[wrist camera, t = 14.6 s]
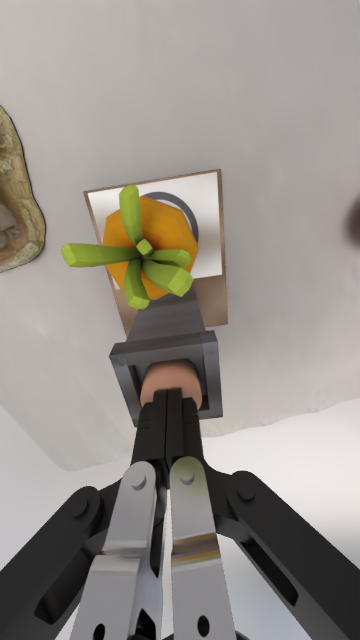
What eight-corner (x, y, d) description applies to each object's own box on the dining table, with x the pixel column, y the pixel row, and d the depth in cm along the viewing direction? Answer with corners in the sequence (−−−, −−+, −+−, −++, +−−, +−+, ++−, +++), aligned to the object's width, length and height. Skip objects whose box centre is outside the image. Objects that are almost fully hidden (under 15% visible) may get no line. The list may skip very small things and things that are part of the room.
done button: (138, 359, 12) (133, 381, 11) (195, 352, 12) (198, 373, 11) (150, 400, 14) (147, 424, 12) (200, 394, 14) (204, 417, 12)
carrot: (123, 239, 20) (12, 287, 6) (156, 192, 18) (103, 117, 4) (165, 273, 21) (148, 372, 8) (198, 233, 19) (253, 268, 6)
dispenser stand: (88, 192, 19) (-56, 154, 7) (218, 171, 19) (297, 91, 7) (128, 332, 26) (89, 433, 14) (225, 319, 25) (271, 412, 13)
